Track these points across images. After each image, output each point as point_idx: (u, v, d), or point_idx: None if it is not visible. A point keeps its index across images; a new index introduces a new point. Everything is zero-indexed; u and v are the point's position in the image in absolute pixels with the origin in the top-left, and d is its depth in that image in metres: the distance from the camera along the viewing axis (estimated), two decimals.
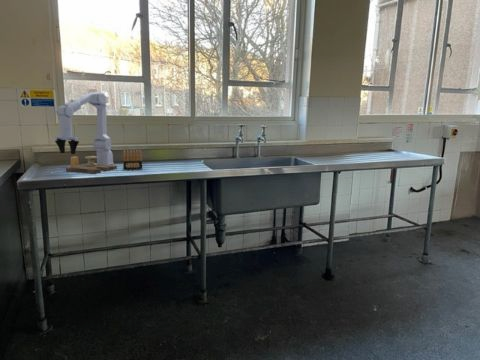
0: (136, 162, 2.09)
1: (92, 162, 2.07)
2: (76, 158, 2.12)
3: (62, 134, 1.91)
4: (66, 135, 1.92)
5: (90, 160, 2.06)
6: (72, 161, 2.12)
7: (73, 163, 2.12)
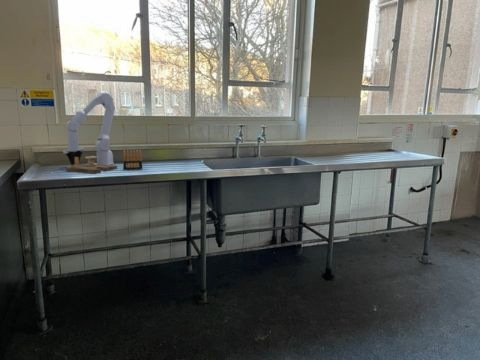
0: (136, 162, 2.09)
1: (92, 162, 2.07)
2: (76, 158, 2.12)
3: None
4: (68, 147, 2.10)
5: (90, 160, 2.06)
6: None
7: None
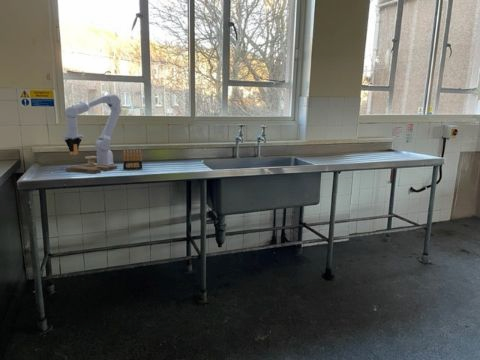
0: (136, 162, 2.09)
1: (92, 162, 2.07)
2: (75, 145, 2.10)
3: None
4: (67, 134, 2.08)
5: (90, 160, 2.06)
6: None
7: None
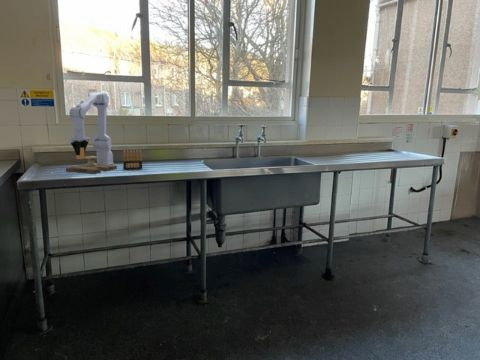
0: (136, 162, 2.09)
1: (92, 162, 2.07)
2: (81, 149, 1.96)
3: None
4: None
5: (90, 160, 2.06)
6: None
7: None
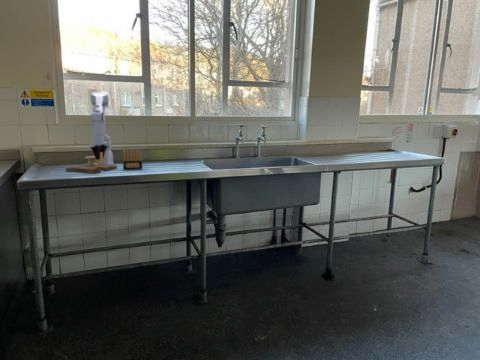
0: (136, 162, 2.09)
1: (92, 162, 2.07)
2: (101, 153, 1.98)
3: None
4: (93, 141, 1.96)
5: (90, 160, 2.06)
6: None
7: None
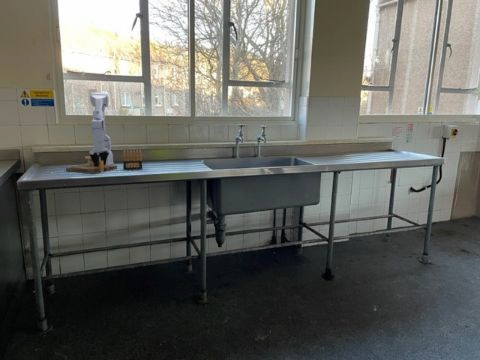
0: (136, 162, 2.09)
1: (92, 162, 2.07)
2: (101, 162, 1.99)
3: None
4: None
5: (90, 160, 2.06)
6: None
7: (98, 167, 1.99)
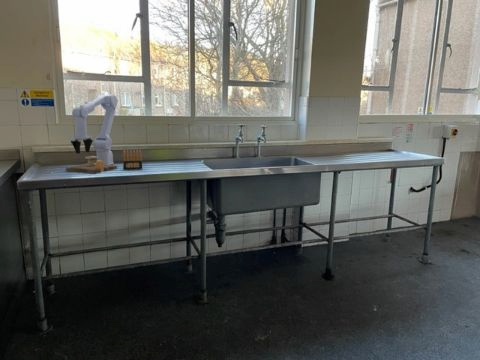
0: (136, 162, 2.09)
1: (92, 162, 2.07)
2: (101, 162, 1.99)
3: None
4: (76, 135, 2.03)
5: (90, 160, 2.06)
6: (97, 165, 1.99)
7: (98, 167, 1.99)
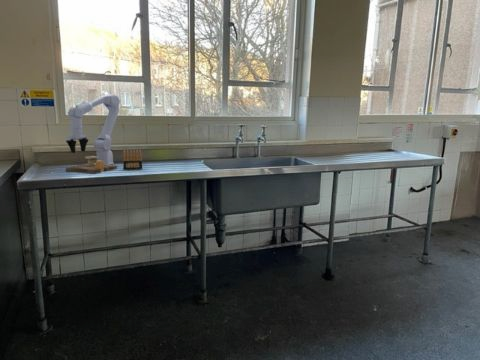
0: (136, 162, 2.09)
1: (92, 162, 2.07)
2: (101, 162, 1.99)
3: None
4: None
5: (90, 160, 2.06)
6: (97, 165, 1.99)
7: (98, 167, 1.99)
